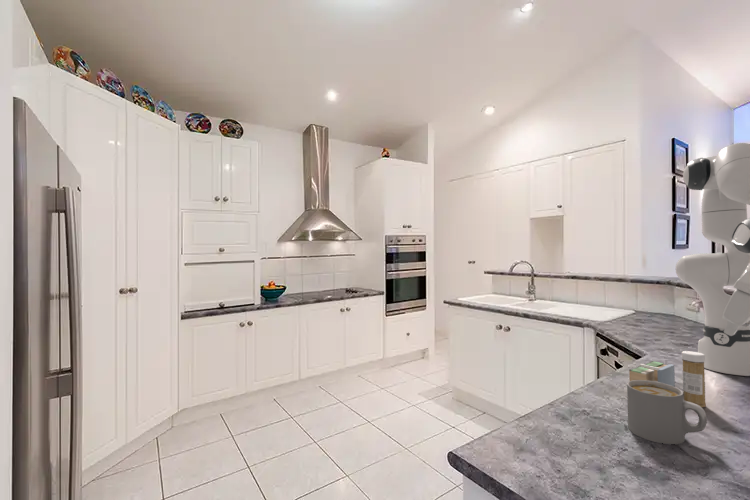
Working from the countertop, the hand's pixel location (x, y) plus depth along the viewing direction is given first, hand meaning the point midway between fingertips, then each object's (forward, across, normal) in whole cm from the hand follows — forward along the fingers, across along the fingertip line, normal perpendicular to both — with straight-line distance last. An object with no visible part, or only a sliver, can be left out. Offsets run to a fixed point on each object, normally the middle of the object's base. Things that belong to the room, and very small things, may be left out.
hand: (736, 329), depth 90 cm
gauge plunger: (+24, +7, -5) cm, 26 cm away
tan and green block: (+25, +7, -6) cm, 27 cm away
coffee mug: (+17, +31, +5) cm, 36 cm away
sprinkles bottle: (+21, +7, +2) cm, 22 cm away
